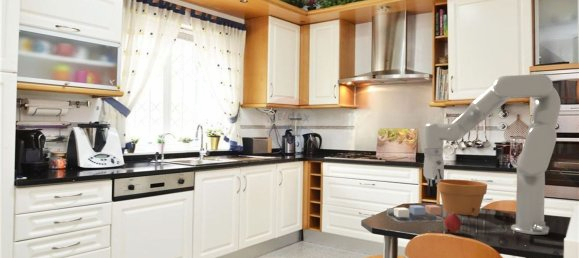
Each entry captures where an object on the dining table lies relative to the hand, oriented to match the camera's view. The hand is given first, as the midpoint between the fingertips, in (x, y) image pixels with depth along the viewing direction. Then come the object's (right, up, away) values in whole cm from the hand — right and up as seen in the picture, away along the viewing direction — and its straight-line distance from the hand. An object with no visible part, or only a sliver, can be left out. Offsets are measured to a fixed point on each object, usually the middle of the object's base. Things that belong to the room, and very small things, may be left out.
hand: (431, 195), depth 182 cm
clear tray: (-7, -11, -1) cm, 13 cm away
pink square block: (0, -8, 0) cm, 8 cm away
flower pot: (+18, -11, +15) cm, 26 cm away
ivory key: (-13, -8, -2) cm, 16 cm away
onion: (+1, -11, -20) cm, 23 cm away
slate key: (-7, -8, -1) cm, 10 cm away
